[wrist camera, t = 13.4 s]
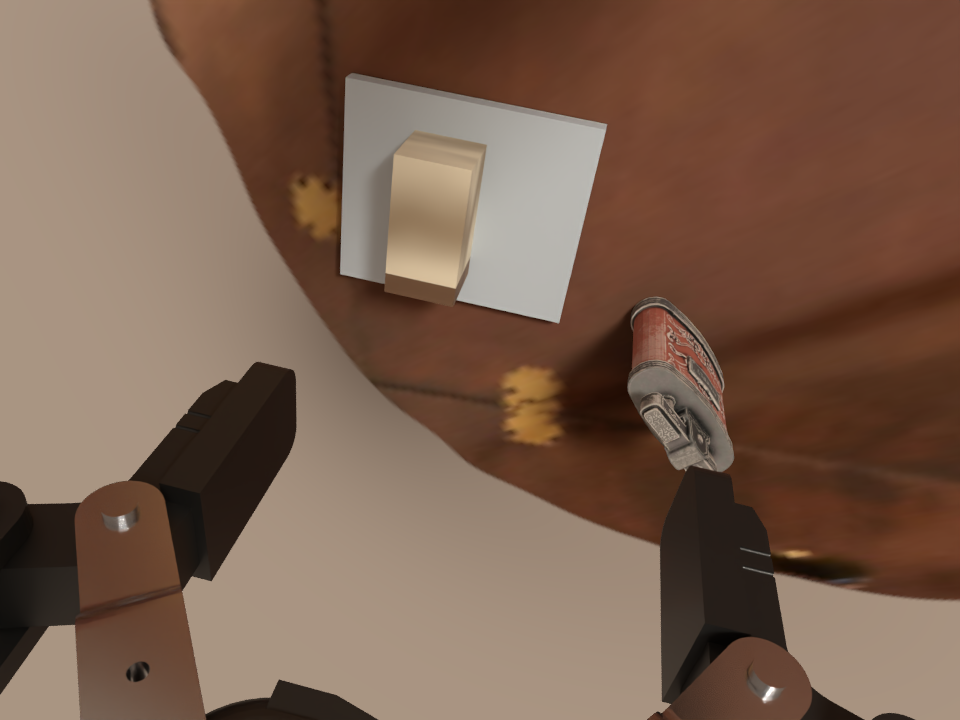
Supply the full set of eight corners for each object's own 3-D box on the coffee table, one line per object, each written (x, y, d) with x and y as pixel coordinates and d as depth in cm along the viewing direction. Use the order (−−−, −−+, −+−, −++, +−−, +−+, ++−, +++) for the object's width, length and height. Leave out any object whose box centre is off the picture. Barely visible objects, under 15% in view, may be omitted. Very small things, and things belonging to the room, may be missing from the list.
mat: (607, 124, 38) (605, 129, 37) (560, 314, 45) (559, 323, 44) (351, 72, 39) (345, 77, 38) (345, 266, 46) (340, 274, 45)
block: (415, 129, 39) (393, 153, 36) (486, 144, 39) (471, 170, 36) (404, 259, 44) (384, 291, 41) (467, 273, 43) (453, 307, 40)
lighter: (736, 381, 45) (754, 494, 37) (687, 403, 47) (694, 516, 39) (666, 286, 42) (670, 386, 34) (617, 313, 44) (610, 414, 36)
